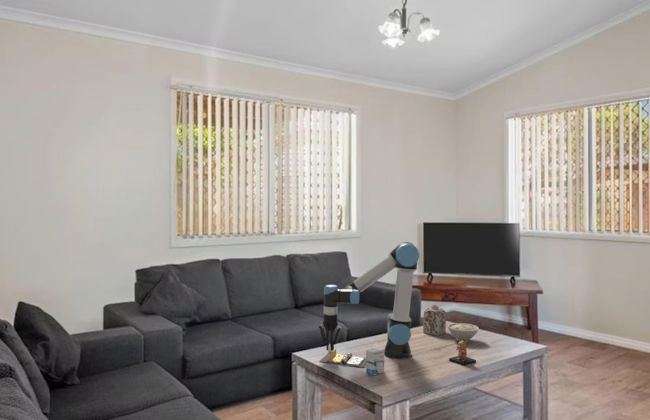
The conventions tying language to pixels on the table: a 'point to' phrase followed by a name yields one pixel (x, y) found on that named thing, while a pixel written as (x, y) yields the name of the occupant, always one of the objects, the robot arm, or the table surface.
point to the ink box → (374, 361)
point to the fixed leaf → (352, 360)
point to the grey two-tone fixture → (325, 360)
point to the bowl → (462, 331)
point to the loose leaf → (335, 357)
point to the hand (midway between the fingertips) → (330, 356)
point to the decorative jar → (434, 320)
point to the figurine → (462, 355)
